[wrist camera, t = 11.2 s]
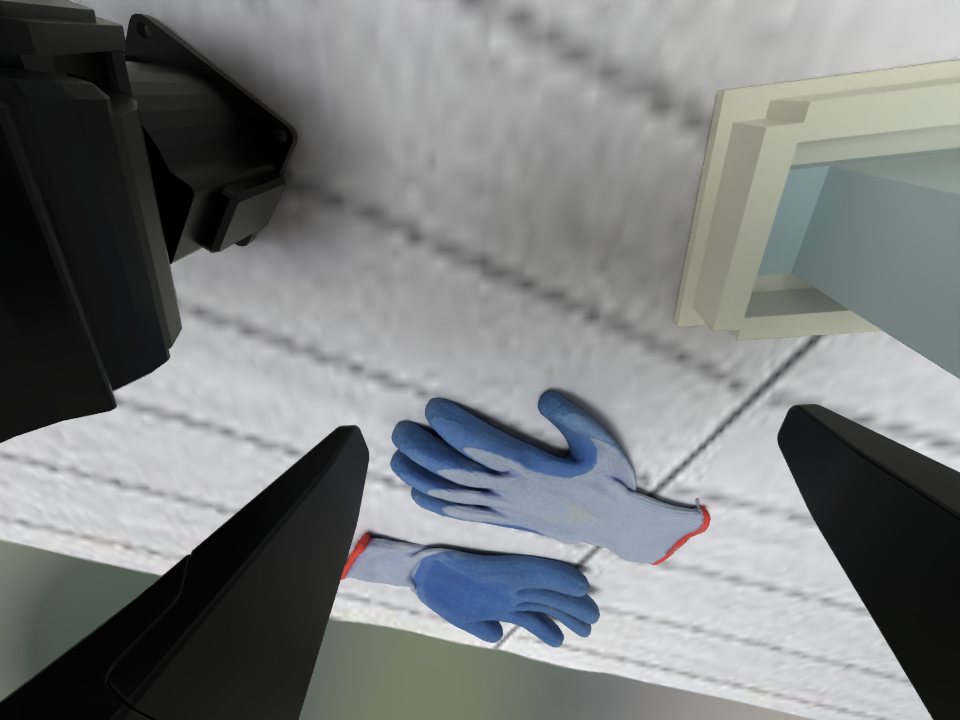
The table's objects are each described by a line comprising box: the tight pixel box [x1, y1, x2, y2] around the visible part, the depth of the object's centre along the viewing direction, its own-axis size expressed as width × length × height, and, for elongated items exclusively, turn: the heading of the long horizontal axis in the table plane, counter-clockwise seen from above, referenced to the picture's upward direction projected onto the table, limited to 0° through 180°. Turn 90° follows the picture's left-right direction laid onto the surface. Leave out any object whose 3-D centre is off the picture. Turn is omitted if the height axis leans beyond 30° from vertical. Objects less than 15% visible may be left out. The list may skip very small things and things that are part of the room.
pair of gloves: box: [341, 391, 711, 647], centre depth 32 cm, size 32×26×4 cm
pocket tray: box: [673, 60, 960, 340], centre depth 16 cm, size 13×10×4 cm
